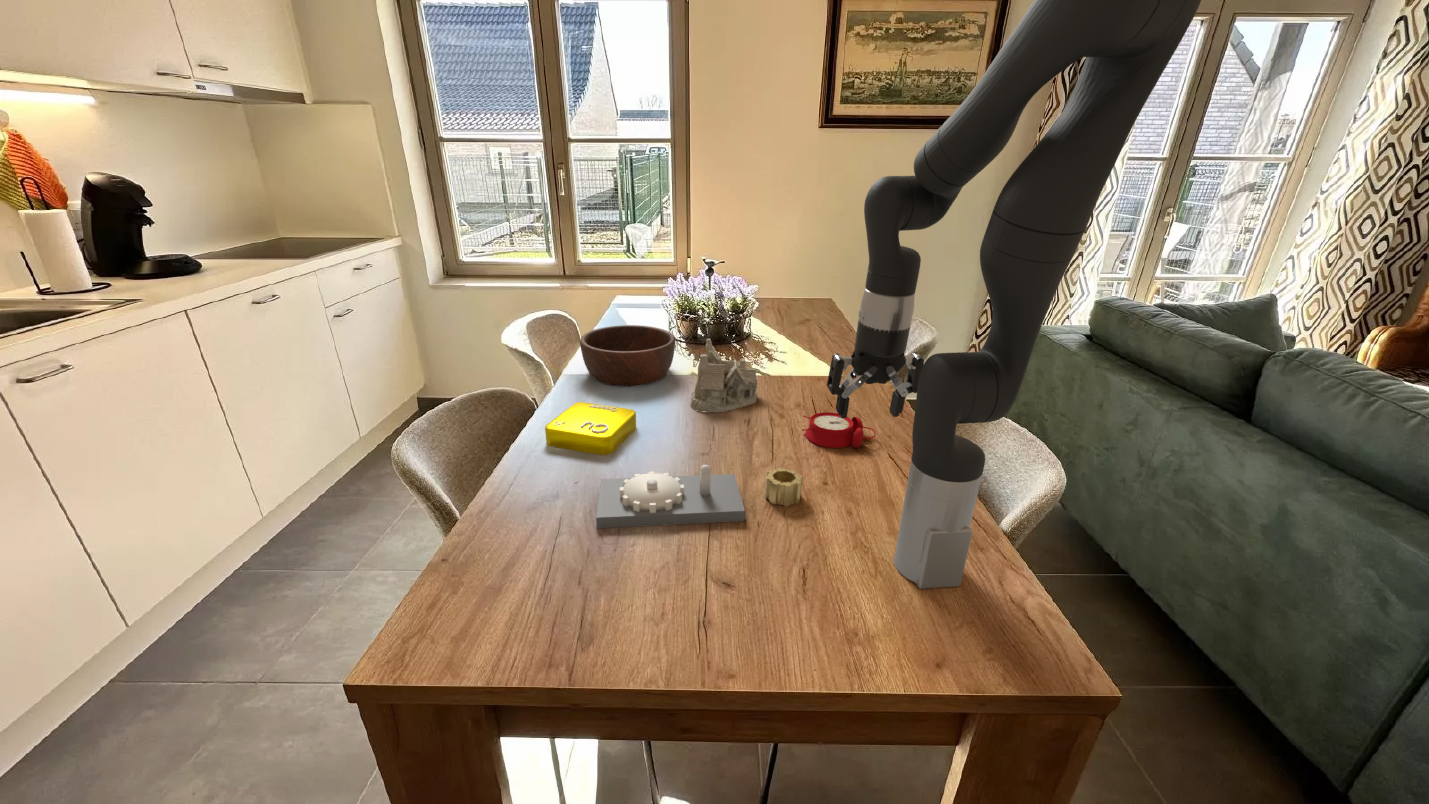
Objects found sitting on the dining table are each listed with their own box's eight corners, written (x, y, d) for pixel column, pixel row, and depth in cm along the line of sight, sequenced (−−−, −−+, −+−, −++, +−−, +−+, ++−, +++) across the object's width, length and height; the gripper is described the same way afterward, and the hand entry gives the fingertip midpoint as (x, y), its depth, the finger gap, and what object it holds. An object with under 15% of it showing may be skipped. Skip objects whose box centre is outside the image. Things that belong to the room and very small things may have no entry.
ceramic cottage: (683, 409, 139) (688, 348, 133) (700, 387, 154) (706, 331, 148) (748, 421, 136) (756, 359, 130) (759, 397, 151) (767, 340, 145)
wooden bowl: (631, 353, 177) (630, 319, 173) (694, 373, 162) (694, 337, 158) (562, 374, 159) (559, 337, 155) (626, 399, 144) (625, 359, 140)
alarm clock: (802, 410, 132) (871, 402, 128) (806, 435, 134) (874, 428, 130) (800, 430, 122) (874, 422, 119) (804, 457, 124) (878, 449, 121)
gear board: (744, 521, 98) (746, 482, 95) (596, 528, 95) (594, 488, 92) (733, 483, 109) (735, 447, 106) (601, 488, 106) (599, 452, 103)
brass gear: (804, 505, 103) (806, 485, 101) (768, 506, 102) (770, 486, 100) (795, 486, 108) (797, 467, 107) (761, 487, 108) (763, 468, 106)
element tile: (639, 427, 131) (638, 407, 129) (609, 458, 117) (608, 436, 116) (578, 418, 134) (576, 398, 133) (542, 447, 121) (540, 425, 119)
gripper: (845, 329, 83) (831, 428, 91) (942, 328, 85) (920, 425, 92) (830, 311, 90) (818, 405, 97) (920, 310, 91) (901, 403, 99)
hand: (868, 415), depth 95 cm, fingers open, 8 cm apart
